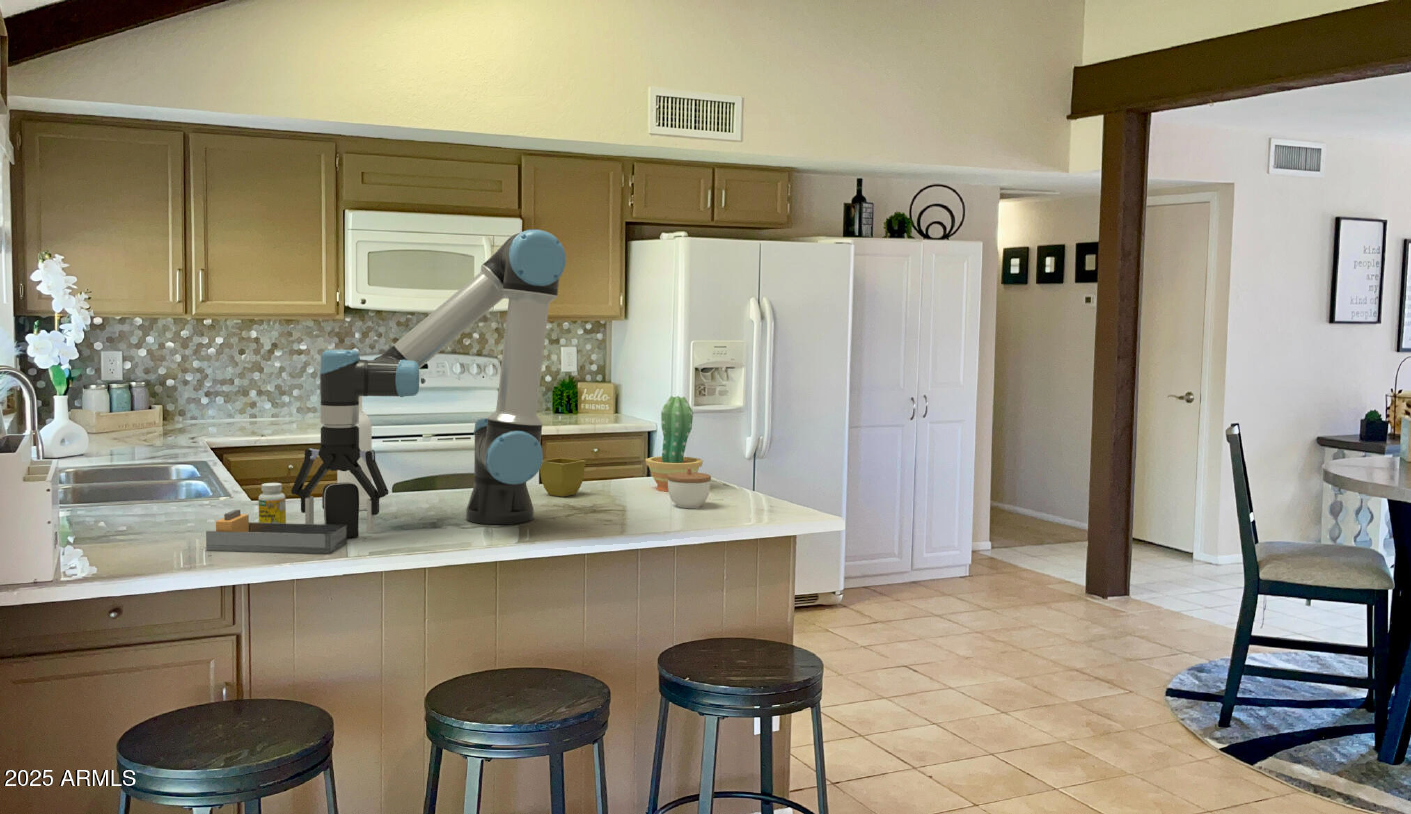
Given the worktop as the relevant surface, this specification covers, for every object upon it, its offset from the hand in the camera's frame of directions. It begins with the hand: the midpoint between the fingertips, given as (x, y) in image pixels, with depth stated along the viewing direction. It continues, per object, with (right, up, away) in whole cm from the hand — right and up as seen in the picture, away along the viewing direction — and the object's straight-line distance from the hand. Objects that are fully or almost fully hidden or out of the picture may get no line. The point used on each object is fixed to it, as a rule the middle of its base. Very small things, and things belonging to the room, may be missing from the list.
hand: (340, 529), depth 236 cm
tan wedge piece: (-18, -1, -10) cm, 21 cm away
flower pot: (+38, +2, +58) cm, 70 cm away
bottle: (-7, +1, +33) cm, 34 cm away
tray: (-9, -2, -10) cm, 14 cm away
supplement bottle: (-17, -1, +8) cm, 18 cm away
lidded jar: (+71, +1, +46) cm, 85 cm away
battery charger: (0, -2, 0) cm, 2 cm away
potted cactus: (+67, +3, +71) cm, 98 cm away
